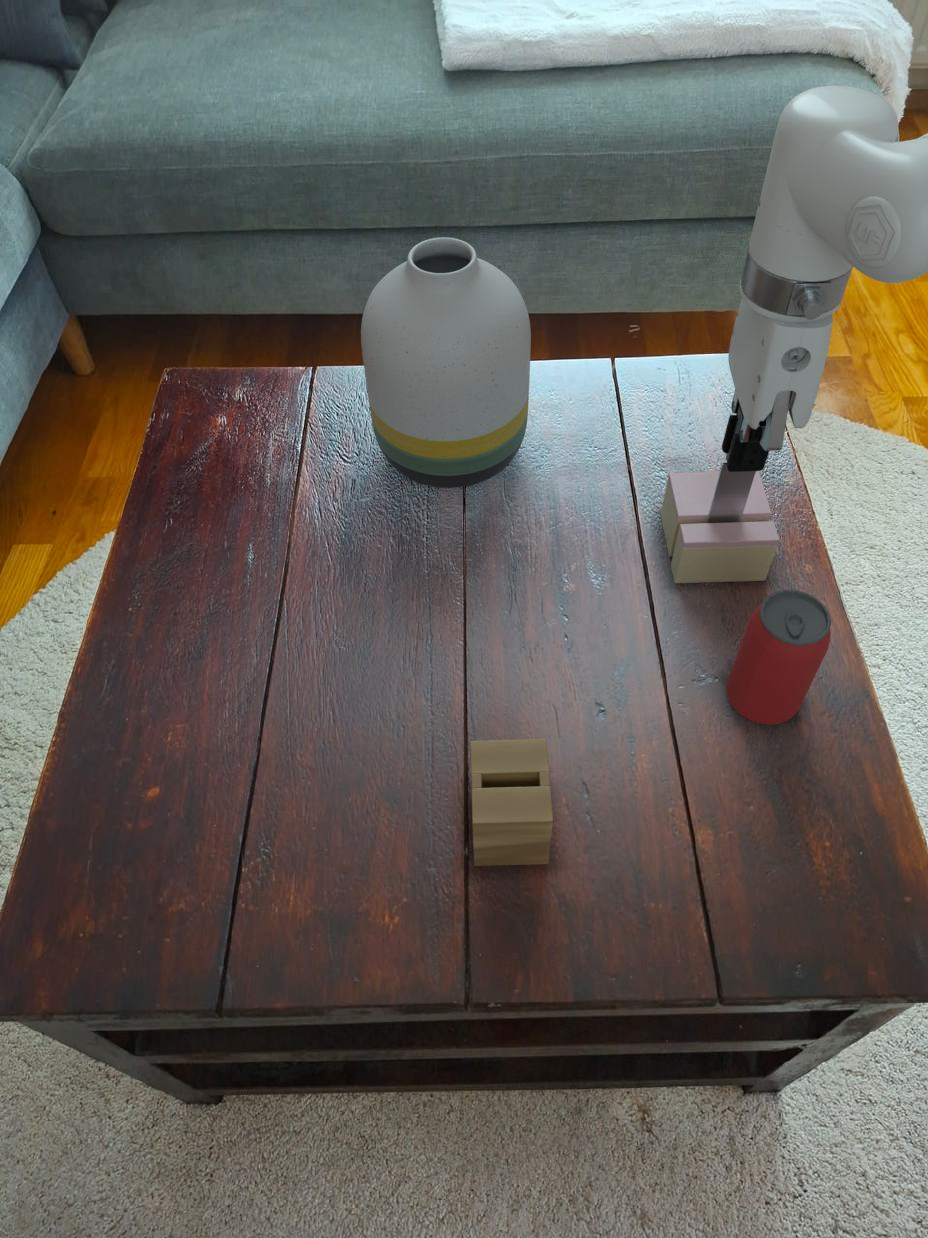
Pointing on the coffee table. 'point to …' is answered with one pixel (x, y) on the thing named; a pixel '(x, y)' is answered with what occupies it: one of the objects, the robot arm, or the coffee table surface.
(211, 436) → the coffee table surface
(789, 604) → the beer can
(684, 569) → the cake slice
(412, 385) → the vase
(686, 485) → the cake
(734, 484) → the knife
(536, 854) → the knife block
